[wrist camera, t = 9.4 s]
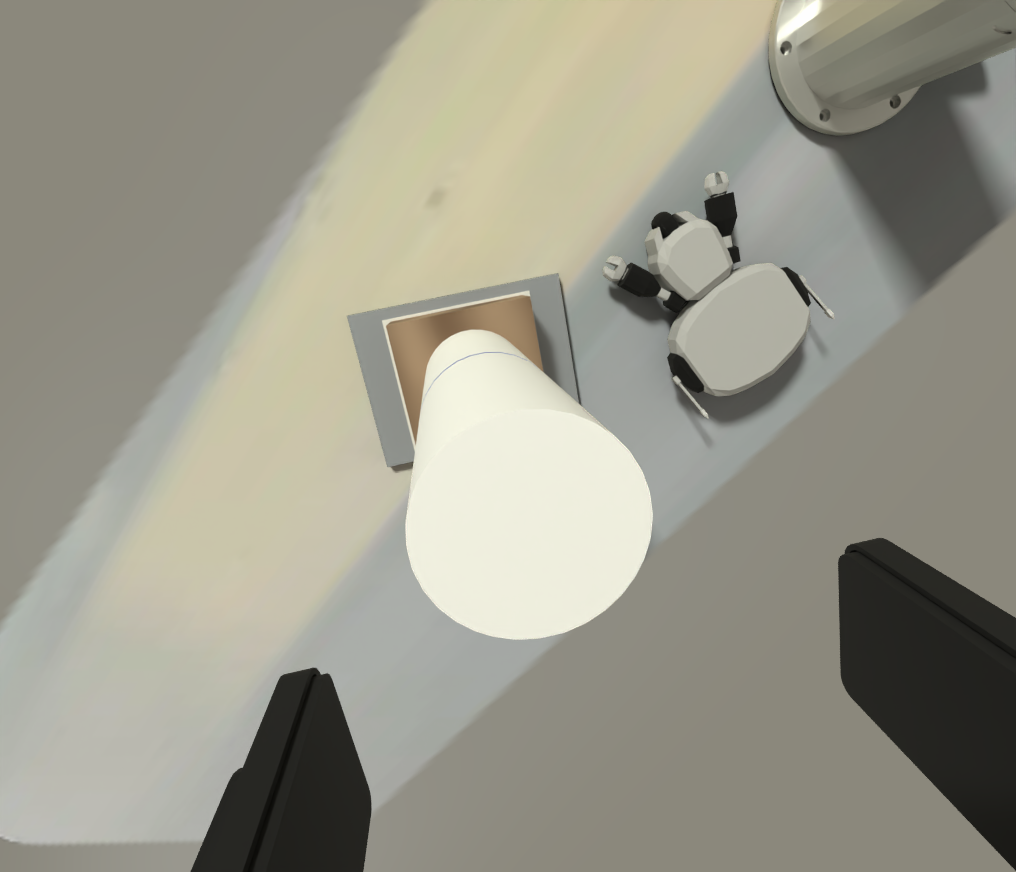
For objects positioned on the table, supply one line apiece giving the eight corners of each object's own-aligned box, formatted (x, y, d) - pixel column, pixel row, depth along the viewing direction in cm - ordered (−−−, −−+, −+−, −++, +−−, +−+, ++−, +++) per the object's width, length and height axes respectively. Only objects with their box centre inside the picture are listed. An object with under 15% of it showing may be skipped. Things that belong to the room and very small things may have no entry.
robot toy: (583, 272, 45) (691, 416, 48) (596, 267, 41) (714, 426, 44) (708, 168, 44) (810, 321, 47) (735, 151, 40) (845, 322, 43)
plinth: (521, 294, 43) (530, 296, 39) (544, 421, 46) (554, 434, 42) (390, 321, 42) (385, 325, 39) (421, 447, 45) (420, 463, 41)
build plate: (556, 273, 44) (558, 273, 43) (579, 422, 47) (582, 424, 46) (348, 315, 43) (346, 316, 42) (388, 464, 46) (387, 467, 45)
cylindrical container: (544, 359, 40) (698, 476, 17) (497, 446, 42) (576, 671, 18) (453, 310, 39) (479, 362, 15) (407, 402, 40) (362, 586, 16)
